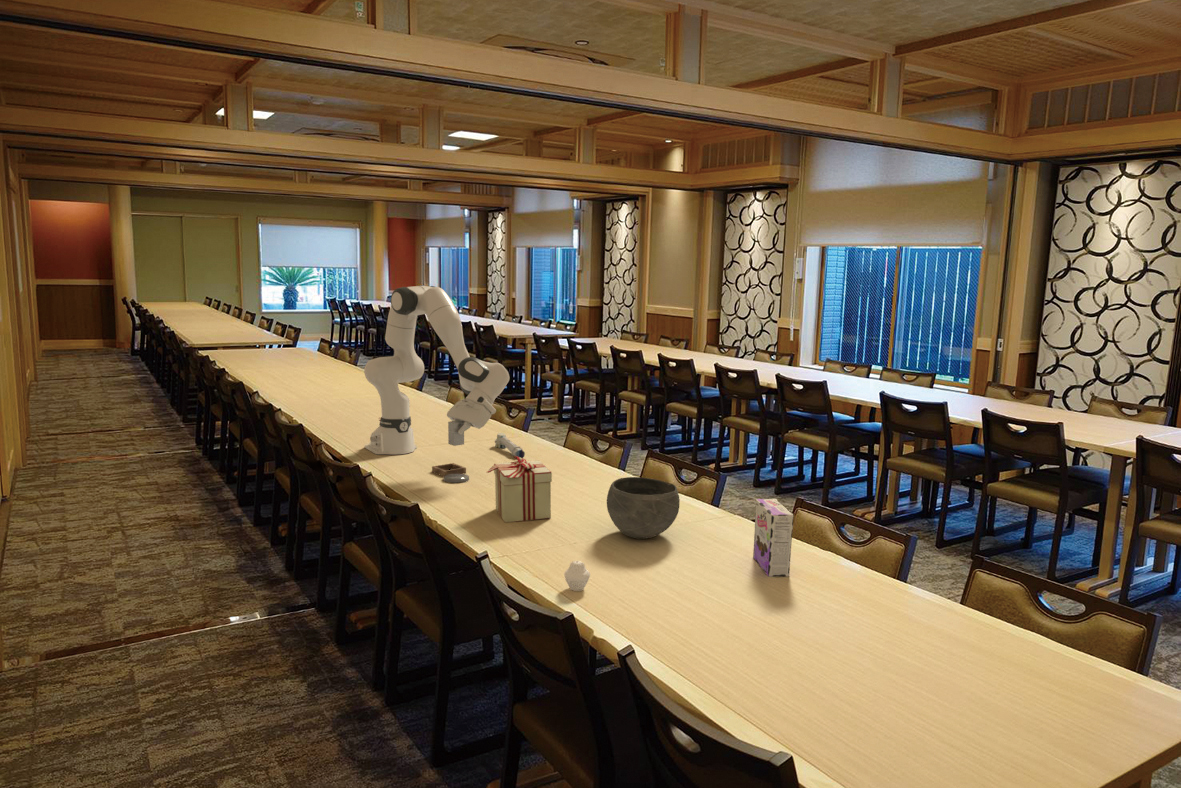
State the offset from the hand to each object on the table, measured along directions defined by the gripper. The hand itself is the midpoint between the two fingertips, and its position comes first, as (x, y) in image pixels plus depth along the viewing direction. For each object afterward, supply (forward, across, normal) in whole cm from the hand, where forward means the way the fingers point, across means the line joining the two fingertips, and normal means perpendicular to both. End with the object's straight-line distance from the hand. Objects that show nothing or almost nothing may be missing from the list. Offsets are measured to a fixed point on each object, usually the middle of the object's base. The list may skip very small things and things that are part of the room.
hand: (454, 432), depth 283 cm
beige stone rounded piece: (+32, +102, -7) cm, 107 cm away
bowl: (+4, +83, +21) cm, 86 cm away
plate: (+12, 0, +13) cm, 17 cm away
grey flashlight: (-16, -25, +41) cm, 51 cm away
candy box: (-2, +122, +28) cm, 125 cm away
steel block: (+3, 0, +4) cm, 4 cm away
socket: (+10, -10, +15) cm, 21 cm away
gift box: (+16, +47, +9) cm, 50 cm away
